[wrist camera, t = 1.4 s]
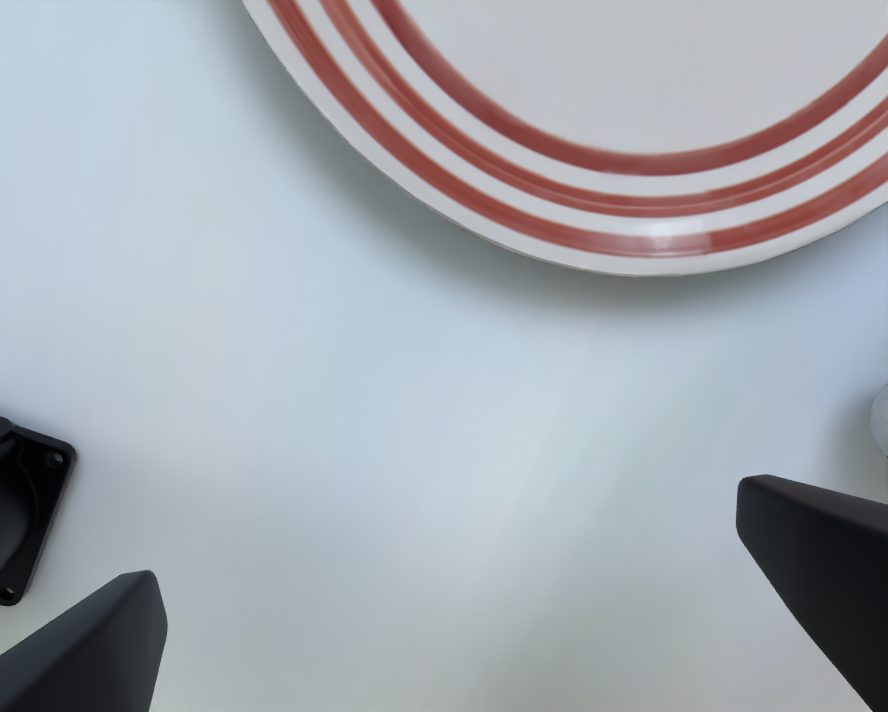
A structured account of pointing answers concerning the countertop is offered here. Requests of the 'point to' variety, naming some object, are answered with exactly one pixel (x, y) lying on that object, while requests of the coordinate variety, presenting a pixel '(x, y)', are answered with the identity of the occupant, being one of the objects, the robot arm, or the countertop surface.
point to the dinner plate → (608, 119)
